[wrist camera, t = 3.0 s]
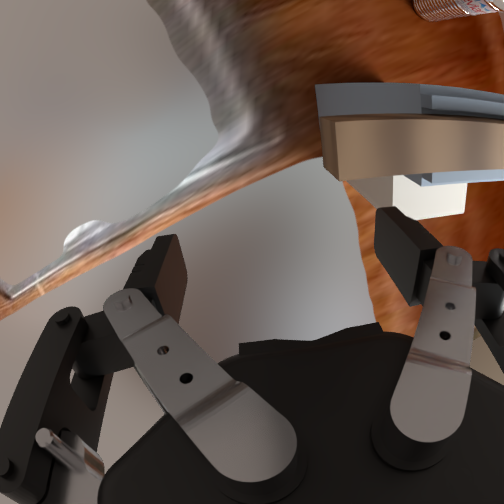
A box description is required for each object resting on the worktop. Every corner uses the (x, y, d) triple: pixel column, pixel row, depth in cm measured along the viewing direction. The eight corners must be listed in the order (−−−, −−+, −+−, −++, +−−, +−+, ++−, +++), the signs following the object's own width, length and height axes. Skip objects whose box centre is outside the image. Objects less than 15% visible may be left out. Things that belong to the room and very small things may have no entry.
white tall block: (334, 170, 53) (391, 223, 33) (331, 129, 49) (393, 158, 29) (389, 165, 53) (463, 213, 33) (388, 126, 49) (468, 155, 29)
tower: (319, 130, 50) (431, 193, 20) (314, 84, 46) (430, 84, 16) (388, 126, 49) (530, 184, 20) (385, 83, 45) (534, 101, 16)
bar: (323, 166, 21) (339, 181, 18) (318, 116, 19) (334, 122, 16) (522, 157, 20) (547, 168, 17) (524, 122, 18) (549, 130, 15)
